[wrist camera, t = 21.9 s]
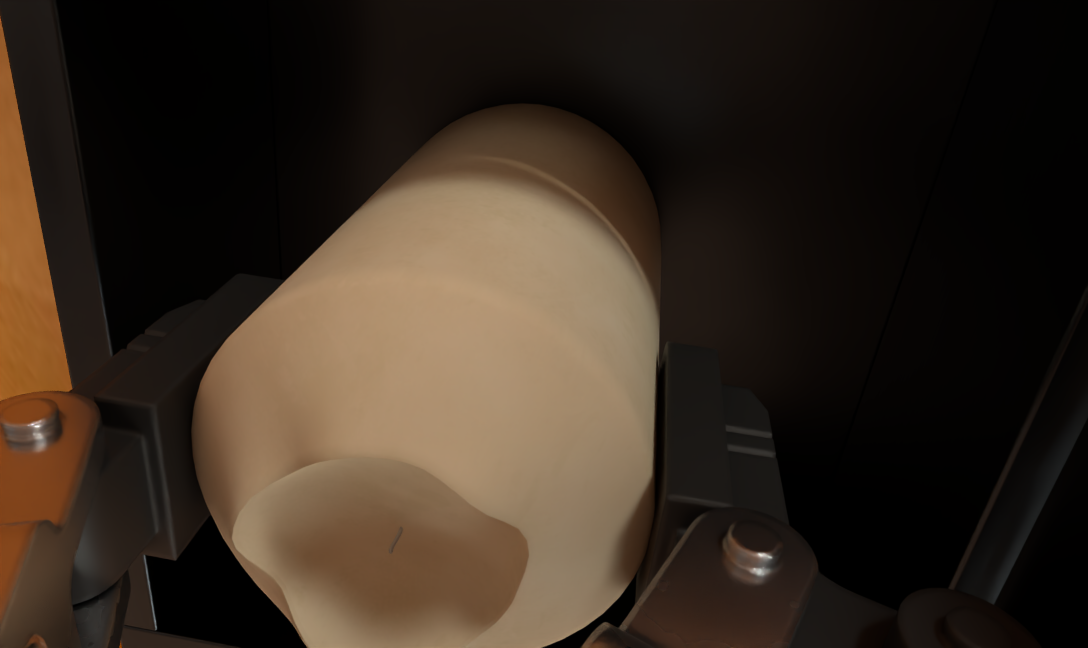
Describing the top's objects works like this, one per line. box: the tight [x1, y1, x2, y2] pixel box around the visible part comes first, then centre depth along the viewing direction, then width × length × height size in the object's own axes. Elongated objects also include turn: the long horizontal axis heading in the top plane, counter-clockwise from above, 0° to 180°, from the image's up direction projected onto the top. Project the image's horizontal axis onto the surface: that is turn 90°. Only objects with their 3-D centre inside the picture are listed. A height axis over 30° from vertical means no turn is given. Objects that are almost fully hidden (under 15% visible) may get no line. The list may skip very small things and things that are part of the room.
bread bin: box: [0, 0, 1088, 648], centre depth 15 cm, size 15×15×7 cm
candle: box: [191, 103, 661, 648], centre depth 13 cm, size 6×6×10 cm
